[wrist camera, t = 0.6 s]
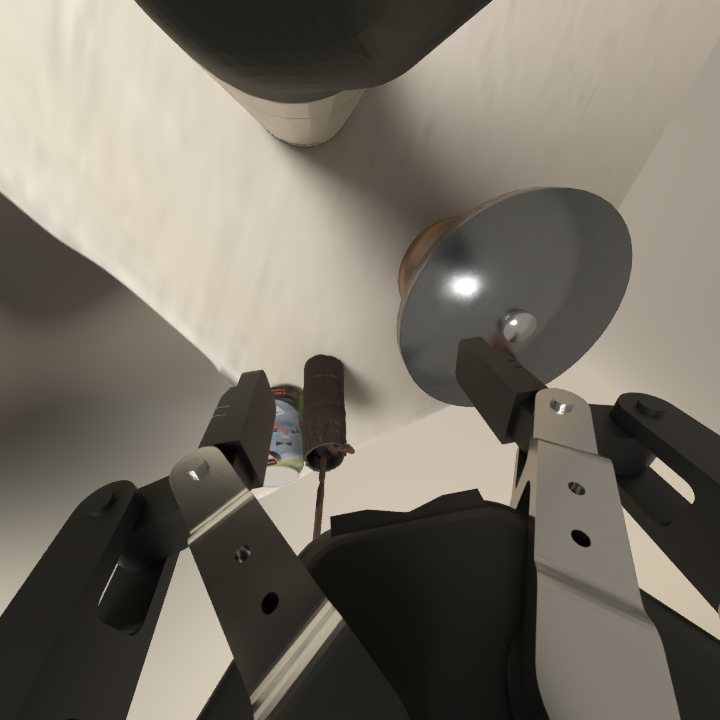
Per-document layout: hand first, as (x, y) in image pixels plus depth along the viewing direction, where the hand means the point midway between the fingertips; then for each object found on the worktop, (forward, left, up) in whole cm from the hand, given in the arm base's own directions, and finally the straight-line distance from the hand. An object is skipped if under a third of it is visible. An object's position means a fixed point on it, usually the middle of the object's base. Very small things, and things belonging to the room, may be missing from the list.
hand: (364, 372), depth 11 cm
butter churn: (+14, +1, -21) cm, 26 cm away
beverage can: (+21, -4, -21) cm, 30 cm away
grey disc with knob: (0, +14, -10) cm, 17 cm away
